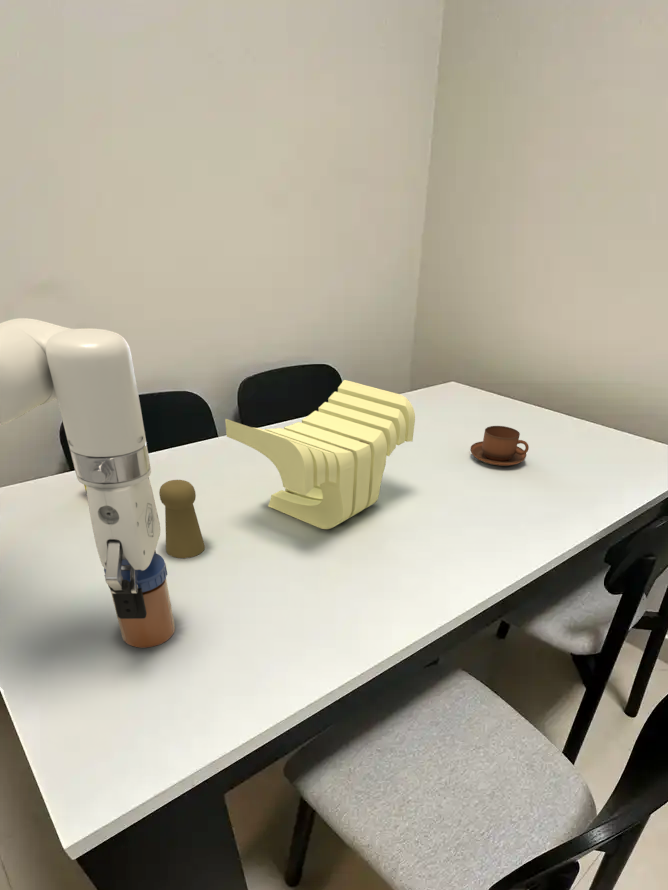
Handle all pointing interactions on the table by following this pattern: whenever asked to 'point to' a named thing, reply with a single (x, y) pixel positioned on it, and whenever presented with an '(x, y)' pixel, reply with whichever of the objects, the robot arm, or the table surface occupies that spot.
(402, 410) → the slatted curved stool
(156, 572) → the jar lid
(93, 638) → the table surface
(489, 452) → the cup and saucer
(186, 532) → the olive game pawn
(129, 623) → the jam jar
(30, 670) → the table surface
